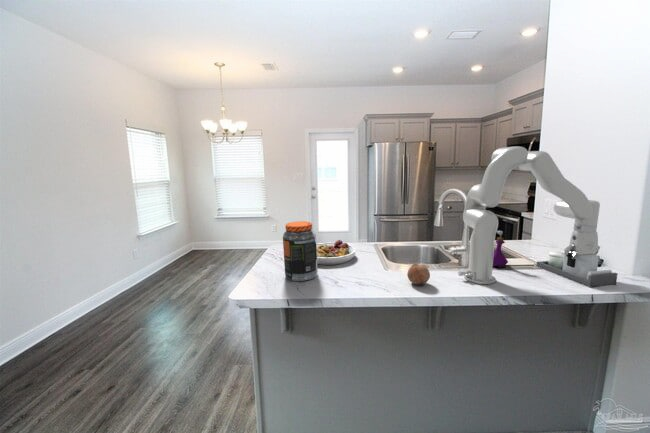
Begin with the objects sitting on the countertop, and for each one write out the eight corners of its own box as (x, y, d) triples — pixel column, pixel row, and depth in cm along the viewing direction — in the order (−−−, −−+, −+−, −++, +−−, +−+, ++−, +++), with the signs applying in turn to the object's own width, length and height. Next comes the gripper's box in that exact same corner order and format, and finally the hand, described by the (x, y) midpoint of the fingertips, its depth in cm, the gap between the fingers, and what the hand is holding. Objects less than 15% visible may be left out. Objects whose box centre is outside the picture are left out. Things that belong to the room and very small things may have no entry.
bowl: (340, 270, 151) (340, 255, 150) (292, 262, 166) (291, 248, 164) (363, 254, 176) (363, 241, 175) (320, 248, 191) (319, 236, 190)
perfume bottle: (507, 268, 147) (511, 232, 144) (491, 267, 148) (494, 232, 145) (502, 263, 154) (505, 229, 151) (486, 262, 156) (489, 229, 152)
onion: (410, 287, 135) (404, 266, 137) (431, 282, 133) (424, 260, 135) (412, 288, 125) (405, 265, 128) (434, 283, 124) (426, 260, 126)
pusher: (589, 283, 125) (590, 272, 124) (586, 282, 126) (588, 271, 125) (610, 281, 126) (611, 270, 125) (607, 280, 127) (609, 269, 126)
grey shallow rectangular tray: (589, 287, 123) (591, 275, 122) (536, 266, 149) (537, 256, 148) (615, 284, 125) (617, 273, 124) (558, 264, 151) (560, 254, 150)
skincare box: (596, 278, 131) (599, 255, 129) (588, 280, 128) (592, 257, 126) (569, 270, 140) (571, 249, 138) (561, 273, 138) (563, 251, 136)
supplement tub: (321, 271, 149) (320, 220, 144) (311, 283, 134) (309, 227, 130) (292, 269, 154) (290, 219, 149) (279, 280, 139) (276, 226, 134)
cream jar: (556, 270, 141) (558, 255, 140) (544, 265, 148) (545, 251, 147) (568, 269, 142) (570, 254, 141) (555, 264, 149) (557, 250, 148)
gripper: (576, 231, 125) (571, 270, 128) (610, 229, 128) (605, 267, 131) (559, 227, 133) (555, 264, 136) (592, 225, 135) (587, 261, 138)
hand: (580, 265), depth 133 cm, fingers open, 9 cm apart
